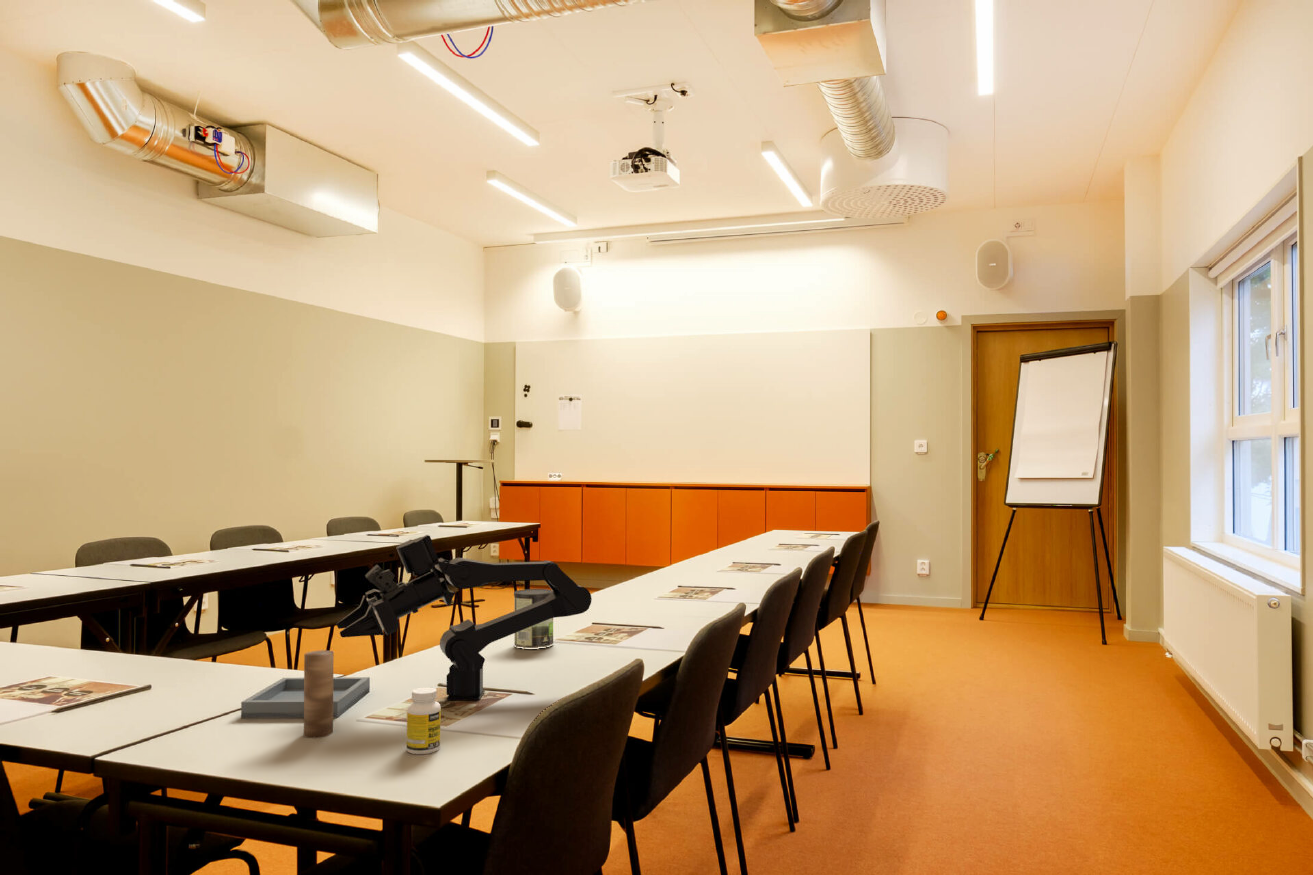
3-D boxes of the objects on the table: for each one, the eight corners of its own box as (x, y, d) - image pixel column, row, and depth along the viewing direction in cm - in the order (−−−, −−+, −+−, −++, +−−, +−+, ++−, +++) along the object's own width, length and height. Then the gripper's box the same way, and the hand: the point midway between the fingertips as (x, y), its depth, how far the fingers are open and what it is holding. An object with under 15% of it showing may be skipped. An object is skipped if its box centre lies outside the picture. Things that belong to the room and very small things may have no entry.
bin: (369, 691, 177) (369, 677, 177) (337, 717, 159) (337, 701, 159) (283, 692, 177) (283, 677, 177) (241, 718, 159) (241, 702, 159)
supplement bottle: (431, 756, 138) (431, 695, 138) (400, 754, 139) (400, 693, 139) (446, 745, 143) (446, 686, 143) (416, 743, 144) (416, 685, 144)
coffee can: (556, 641, 226) (556, 588, 226) (550, 649, 216) (550, 594, 216) (517, 641, 226) (517, 588, 226) (510, 650, 216) (510, 594, 216)
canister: (337, 728, 152) (337, 650, 153) (326, 737, 147) (327, 656, 148) (310, 728, 152) (310, 650, 153) (299, 737, 147) (299, 656, 148)
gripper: (394, 553, 177) (319, 586, 171) (406, 562, 160) (324, 599, 154) (415, 601, 178) (341, 635, 172) (429, 615, 161) (348, 654, 155)
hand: (338, 630), depth 163 cm, fingers open, 9 cm apart
